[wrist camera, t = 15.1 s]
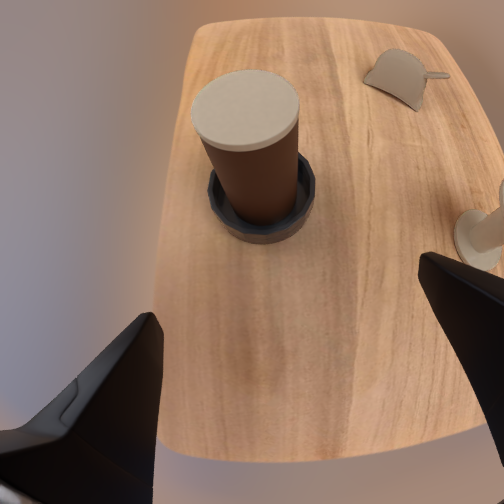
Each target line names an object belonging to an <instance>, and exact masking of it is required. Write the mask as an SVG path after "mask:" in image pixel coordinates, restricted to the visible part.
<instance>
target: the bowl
mask: <svg viewBox="0 0 504 504" xmlns="http://www.w3.org/2000/svg"><path fill="white" fill-rule="evenodd" d="M207 192H208V196H209V200H210V204H211V208H212V210H213V212H214V213H215V215H216V216H217V218H218V219H219V221H220V222H221V223H222V224H223V226H224V227H225V228H226V229H227V230H228V232H230V233H231V234H232V235H233V236H235V237H237V238H238V239H241V240H243V241H245V242H249V243H254V244H272V243H276V242H280V241H282V240H285V239H287V238H289V237H291V236H292V235H293V234H295V233H296V232H297V231H298V230H299V229H301V227H302V226H303V225H304V224H305V222H306V221H307V219H308V217H309V215H310V213H311V210H312V208H313V203H314V197H315V176H314V174H313V171H312V169H311V167H310V165H309V162H308V161H307V160H306V159H305V158H304V157H303V156H302V155H301V154H300V153H299V152H298V173H297V198H296V203H295V206H294V208H293V209H292V211H291V212H290V214H289V215H288V216H287V217H286V218H284V219H283V220H281V221H280V222H278V223H275V224H272V225H267V226H257V225H252V224H249V223H247V222H245V221H243V220H242V219H240V218H239V217H238V216H237V215H236V214H235V212H234V211H233V209H232V207H231V205H230V202H229V200H228V198H227V196H226V194H225V191H224V189H223V187H222V185H221V183H220V180H219V178H218V176H217V174H216V172H215V169H213V170H212V172H211V175H210V180H209V185H208V190H207Z"/></svg>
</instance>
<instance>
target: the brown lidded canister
mask: <svg viewBox="0 0 504 504" xmlns="http://www.w3.org/2000/svg"><path fill="white" fill-rule="evenodd" d="M299 108H300V104H299V97H298V94H297V92H296V90H295V88H294V87H293V85H292V84H291V83H290V82H289V81H287V80H286V79H285V78H283V77H281V76H279V75H277V74H275V73H272V72H269V71H264V70H252V69H249V70H240V71H235V72H231V73H228V74H225V75H222V76H220V77H218V78H216V79H214V80H213V81H211V82H210V83H208V84H207V85H206V86H205V87H204V88H203V89H202V90H201V91H200V92H199V93H198V94H197V96H196V98H195V99H194V102H193V104H192V108H191V120H192V123H193V125H194V128H195V130H196V132H197V133H198V135H199V136H200V138H201V141H202V143H203V145H204V147H205V149H206V152H207V154H208V156H209V158H210V160H211V163H212V165H213V167H214V169H215V172H216V174H217V176H218V178H219V180H220V183H221V185H222V187H223V189H224V191H225V194H226V196H227V198H228V200H229V202H230V205H231V207H232V209H233V211H234V212H235V214H236V215H237V216H238V217H239V218H240V219H242V220H243V221H245V222H247V223H249V224H252V225H257V226H267V225H272V224H275V223H278V222H280V221H281V220H283V219H284V218H286V217H287V216H288V215H289V214H290V212H291V211H292V209H293V208H294V206H295V203H296V198H297V173H298V116H299Z"/></svg>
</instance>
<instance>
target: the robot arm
mask: <svg viewBox="0 0 504 504" xmlns="http://www.w3.org/2000/svg"><path fill="white" fill-rule="evenodd" d="M418 279H419V282H420V284H421V286H422V288H423V290H424V292H425V294H426V297H427V299H428V301H429V303H430V305H431V308H432V310H433V312H434V314H435V316H436V318H437V320H438V322H439V323H440V325H441V327H442V329H443V331H444V332H445V334H446V336H447V338H448V340H449V342H450V343H451V345H452V347H453V349H454V351H455V353H456V355H457V357H458V359H459V361H460V363H461V365H462V367H463V369H464V371H465V373H466V375H467V377H468V379H469V381H470V384H471V386H472V388H473V390H474V392H475V394H476V397H477V399H478V401H479V404H480V406H481V408H482V411H483V413H484V415H485V418H486V421H487V423H488V426H489V429H490V431H491V434H492V437H493V439H494V442H495V445H496V447H497V451H498V453H499V457H500V459H501V463H502V465H503V467H504V279H503V278H500V277H498V276H495V275H493V274H490V273H488V272H485V271H483V270H480V269H477V268H475V267H472V266H470V265H467V264H464V263H462V262H459V261H456V260H454V259H451V258H448V257H446V256H443V255H440V254H437V253H434V252H427V253H423V254H421V256H420V260H419V270H418ZM163 351H164V333H163V330H162V328H161V326H160V324H159V322H158V320H157V318H156V316H155V315H154V313H152V312H147V313H142V314H140V315H139V316H138V317H137V318H136V319H135V320H134V321H133V322H132V323H131V324H130V325H129V326H128V327H127V328H125V329H124V330H123V331H122V332H121V333H120V334H119V335H118V336H117V337H116V338H115V339H114V340H113V341H112V342H111V343H110V344H109V345H108V346H107V347H106V348H105V349H104V350H103V351H102V352H101V353H100V354H99V355H98V356H97V357H96V358H95V359H94V360H93V361H92V362H91V363H90V364H89V365H88V366H87V367H86V368H85V369H84V370H83V371H82V372H81V373H80V374H79V375H78V376H77V378H75V379H74V380H73V381H72V382H71V383H70V384H69V385H68V386H67V387H66V388H65V389H64V390H63V391H62V392H61V393H60V394H59V395H58V396H57V397H56V398H54V399H53V400H52V401H51V402H50V403H49V404H48V405H47V406H46V407H44V408H43V409H42V410H41V411H40V412H39V413H38V414H37V415H35V416H34V417H33V418H32V419H31V420H30V421H29V422H27V423H26V424H25V425H23V426H22V427H19V428H16V429H12V430H3V431H0V504H152V502H153V501H152V499H153V488H152V487H153V477H154V461H155V446H156V435H157V425H158V414H159V405H160V396H161V388H162V379H163ZM498 504H504V500H502V501H501V502H499V503H498Z"/></svg>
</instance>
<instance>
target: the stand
mask: <svg viewBox="0 0 504 504" xmlns="http://www.w3.org/2000/svg"><path fill="white" fill-rule="evenodd" d="M499 203H500V207H499V208H497V209H496V210H495V211H493V212H492V213H491V214H489V215H487V214H486V213H484V212H482V211H480V210H475V209H472V210H468V211H466V212H464V213H463V214H462V215H461V216H460V217H459V218H458V220H457V222H456V224H455V228H454V241H455V246H456V249H457V252H458V254H459V256H460V258H461V259H462V261H463V262H464V263H465V264H467V265H470V266H472V267H475V268H477V269H480V270H483V271H485V272H486V271H488V270H491V269H492V268H494V267H495V266H496V265H497V263H498V261H499V259H500V257H501V252H502V245H504V179H503V180H502V182H501V184H500V188H499Z"/></svg>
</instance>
